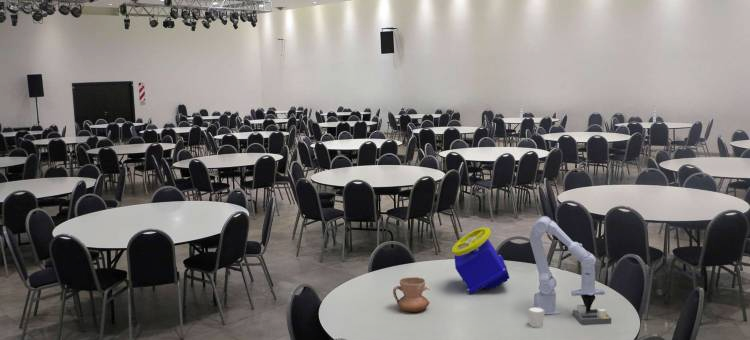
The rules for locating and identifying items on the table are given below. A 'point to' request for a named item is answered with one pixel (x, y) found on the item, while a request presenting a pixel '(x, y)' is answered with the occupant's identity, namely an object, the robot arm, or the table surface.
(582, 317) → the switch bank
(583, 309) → the white block
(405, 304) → the ceramic jug
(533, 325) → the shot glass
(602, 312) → the white rectangular block
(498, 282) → the blue valve with handwheel
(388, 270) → the table surface
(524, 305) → the table surface
